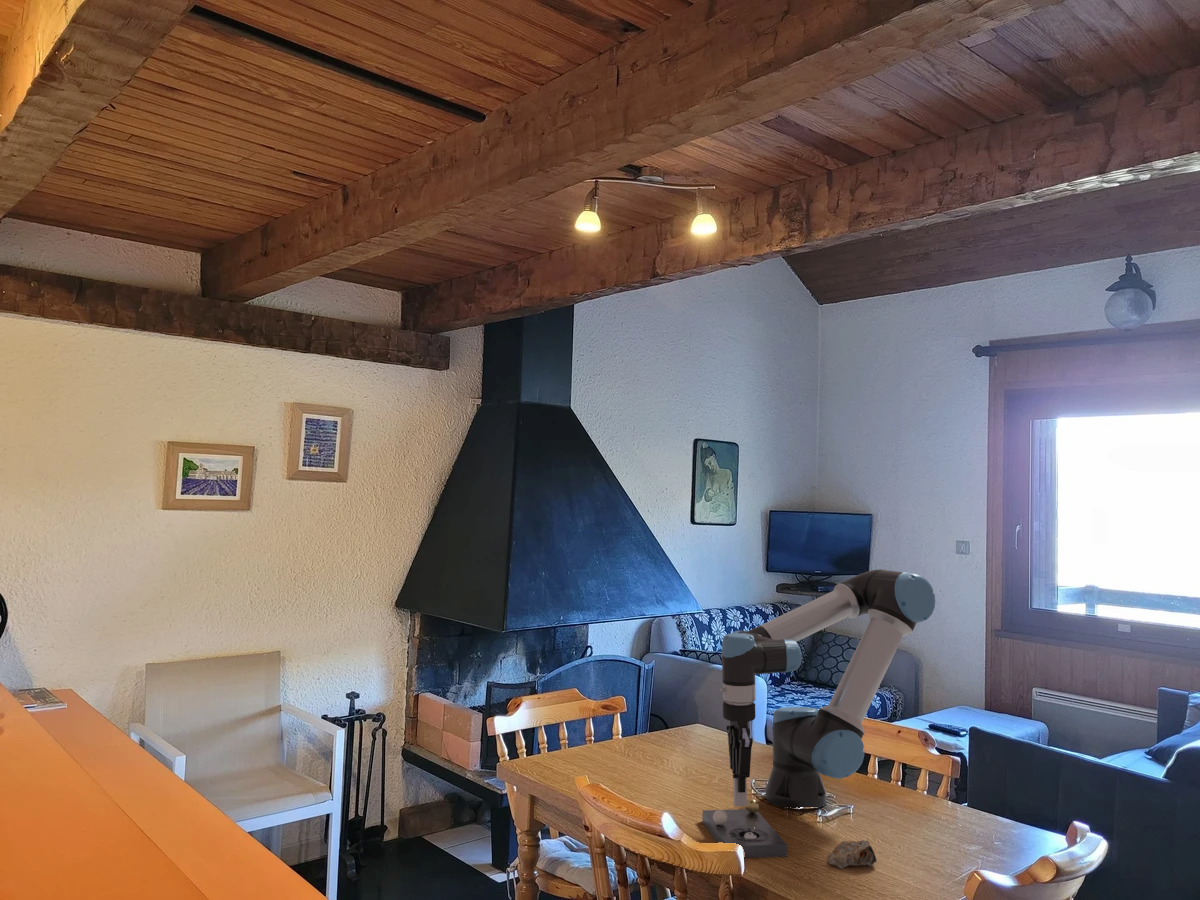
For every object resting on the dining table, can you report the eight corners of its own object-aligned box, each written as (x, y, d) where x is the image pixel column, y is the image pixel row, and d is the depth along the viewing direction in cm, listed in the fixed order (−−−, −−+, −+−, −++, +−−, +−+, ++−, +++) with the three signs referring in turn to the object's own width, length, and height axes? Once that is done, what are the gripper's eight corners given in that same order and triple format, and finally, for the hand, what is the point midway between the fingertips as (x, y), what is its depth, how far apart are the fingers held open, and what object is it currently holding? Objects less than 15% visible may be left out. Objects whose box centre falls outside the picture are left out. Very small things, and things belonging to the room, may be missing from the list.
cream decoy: (725, 822, 201) (725, 807, 201) (728, 827, 198) (729, 812, 198) (711, 822, 201) (711, 807, 201) (714, 827, 198) (715, 812, 198)
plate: (702, 821, 208) (702, 810, 209) (755, 819, 210) (755, 809, 210) (727, 858, 187) (727, 846, 187) (786, 856, 188) (787, 844, 188)
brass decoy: (756, 810, 209) (756, 796, 210) (760, 815, 206) (760, 801, 206) (743, 810, 209) (743, 796, 209) (747, 815, 206) (747, 801, 206)
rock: (869, 856, 190) (823, 844, 191) (876, 832, 189) (829, 820, 190) (876, 882, 182) (827, 870, 183) (883, 858, 181) (834, 846, 182)
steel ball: (752, 831, 195) (762, 837, 193) (746, 845, 195) (757, 852, 192) (743, 828, 194) (754, 835, 191) (737, 842, 193) (748, 849, 191)
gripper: (715, 695, 211) (716, 796, 210) (731, 708, 199) (732, 815, 197) (746, 694, 212) (747, 794, 211) (763, 707, 200) (764, 814, 198)
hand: (740, 804), depth 204 cm, fingers closed
